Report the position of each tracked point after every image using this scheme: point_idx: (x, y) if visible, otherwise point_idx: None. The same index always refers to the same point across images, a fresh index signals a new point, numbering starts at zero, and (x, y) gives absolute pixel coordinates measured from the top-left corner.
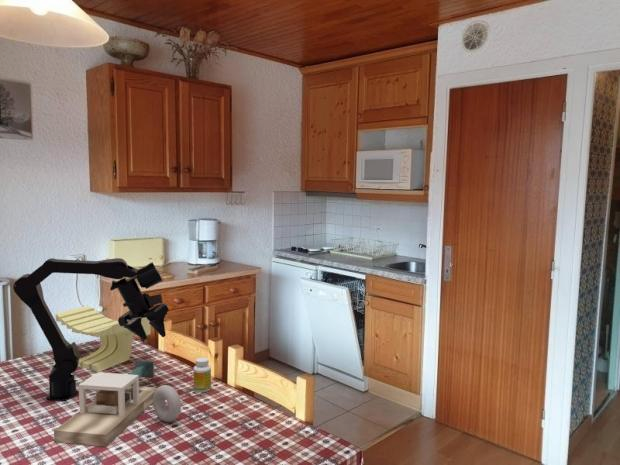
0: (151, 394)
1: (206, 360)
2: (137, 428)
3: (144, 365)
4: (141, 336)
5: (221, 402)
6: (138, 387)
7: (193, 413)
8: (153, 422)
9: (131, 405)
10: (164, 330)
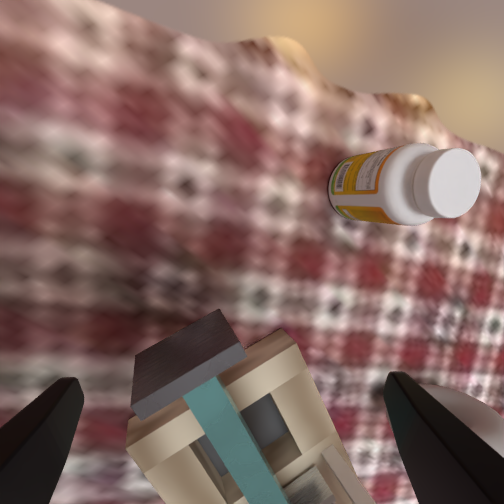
0: (315, 386)
1: (479, 180)
2: (373, 459)
3: (207, 381)
4: (60, 473)
5: (452, 227)
6: (366, 491)
7: (430, 322)
8: (383, 418)
9: (330, 469)
10: (457, 427)
